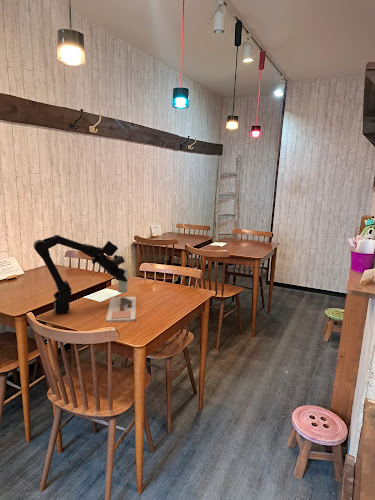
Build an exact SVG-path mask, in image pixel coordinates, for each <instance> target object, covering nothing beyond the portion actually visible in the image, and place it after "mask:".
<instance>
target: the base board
mask: <svg viewBox="0 0 375 500" xmlns="http://www.w3.org/2000/svg"><path fill="white" fill-rule="evenodd" d="M123 297H124V298H126V299H129V300H131V301H132V307H130V308H129V307H128V304H127V305H124V311H131V313H130V318H120V319H111V317H112V312H113V311H120V304H121V298H123ZM136 300H137V296H117V297H116V296H115V297H114V296H113V297H110V300H109V306H108V310H107V314H106V318H105V323H112V322H113V323H116V322H119V323H121V322H136V311H137V310H136V306H137V305H136V303H137V301H136ZM125 302H126V301H125Z"/></svg>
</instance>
